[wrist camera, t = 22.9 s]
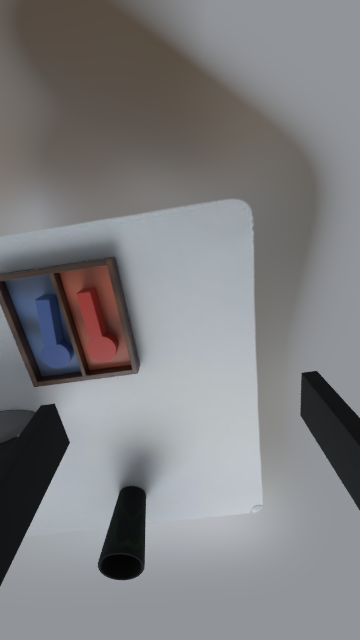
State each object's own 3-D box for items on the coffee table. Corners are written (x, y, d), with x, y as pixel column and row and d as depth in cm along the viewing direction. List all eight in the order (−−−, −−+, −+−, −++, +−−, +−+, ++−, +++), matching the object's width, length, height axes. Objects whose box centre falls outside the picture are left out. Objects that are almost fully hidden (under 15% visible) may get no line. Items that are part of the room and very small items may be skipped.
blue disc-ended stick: (35, 294, 38) (25, 299, 36) (65, 294, 38) (57, 299, 36) (48, 363, 42) (40, 371, 40) (75, 363, 42) (69, 372, 40)
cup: (110, 504, 55) (94, 576, 44) (117, 479, 53) (102, 549, 42) (146, 510, 56) (138, 583, 45) (154, 486, 54) (149, 557, 42)
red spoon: (74, 290, 38) (66, 294, 35) (103, 285, 38) (98, 290, 35) (94, 358, 42) (89, 367, 39) (121, 355, 42) (117, 363, 39)
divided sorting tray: (-1, 274, 38) (-12, 277, 36) (114, 256, 37) (111, 258, 35) (40, 379, 44) (34, 387, 42) (139, 366, 43) (138, 373, 41)
